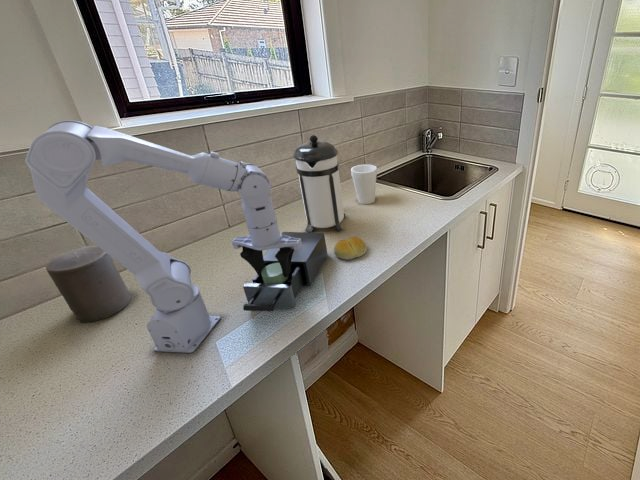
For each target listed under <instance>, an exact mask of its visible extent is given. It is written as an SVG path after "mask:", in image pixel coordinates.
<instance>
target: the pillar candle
mask: <svg viewBox="0 0 640 480" xmlns="http://www.w3.org/2000/svg"><path fill="white" fill-rule="evenodd" d="M45 270H46V272H47V273H48V275H49V277H50V279H51V280H52V282H53V284H54V285H55V286H56V288H57V290H58V291H59V293H60V294H61V296H62V298H63V299H64V301H65V302H66V304H67V305H68V308H70V311H72V313H73V315H74V317H75V318H76V320H77V322H80V323H90V322H95V321H96V322H97V321H100V320H103V319H106V318H109V317H111V316H113V315H115V314H116V313H118V312H120V311H121V310H123V309H124V308H125V307H127V305H128V304H129V303H131V300H132V295H131V294H130V292H129V290H128V287H127V285H126V284H125V282H124V279H123V277H122V276H121V274H120V272H119V270H118V268H117V266H116V263H114V260H113V257H111V256H110V255H109V254H107V253H106V252H105V251H104V250H102V249H101V248H100V247H98V246H97V245H91V246H90V245H89V246H88V245H87V246H83V247H79V248H76V249H75V248H74V249H72V250H69V251H67V252H64V253H62V254H60V255H57V256H55V257H54V258H52V259H51V260H49V261H48V262H47V264H46V265H45Z"/></svg>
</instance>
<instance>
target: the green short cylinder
mask: <svg viewBox="0 0 640 480" xmlns="http://www.w3.org/2000/svg"><path fill="white" fill-rule="evenodd" d="M261 275H262V278H263V282H264V284H282V283H284V282H285V281H286V280H287V279H288V277H284V276H283V273H282V269H281V265H280V263H273V264H270V265H267V266H266V267H264V268H263V269H262V271H261ZM288 276H289V275H288Z"/></svg>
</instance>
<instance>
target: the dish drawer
mask: <svg viewBox="0 0 640 480" xmlns="http://www.w3.org/2000/svg"><path fill="white" fill-rule="evenodd" d="M270 264H273V263H266V264H265V267H266V266H267V265H270ZM251 281H252V282H245V283H244V284H243V285H242V288H243V292H244V295H245V298H246V301H247V303H244V304H243V307H242V309H243V311H245V312H246V311H247V312H271V313H272V312H274V311H275V308H281V309H282V308H283V309H295V307H296V306H297V303H296V299H297V297H298V295H299V293H300V292H301V290H302V289H303V288H304V287H303V285H304V283H305V282H306V276H305V271H304V266H303V264H291V272H290V274H289V276H288V279H287V280H286V281H285V282H284V283H282V284H264V282H263V278H262V276H259V275H258V274H257V273H256V274H255V275H254V277H253V278H252V280H251Z"/></svg>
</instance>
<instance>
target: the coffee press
mask: <svg viewBox="0 0 640 480" xmlns="http://www.w3.org/2000/svg"><path fill="white" fill-rule="evenodd" d="M338 154H339V151H338V150H337V148H336V147H335V145H334V144H332V143H330V142H328V141H321V140H320V141H319V138H318V137H317V135H314V134H313V135H310V137H309V141H308V142H304V143H301V144H299V145H298V146H296V148H295V149H294V153H293V154H292V155H293V159H294V160H295V164H296V165H295V168H296V174H297V176H298V180H299V182H298V183H299V187H300V192H301V197H302V198H301V199H302V203H303V209H304V214H305V218H306V219H305V221H306V223H307V225H306V227H305V232H309V233H313V230H314V229H315V228H316V229H327V228H331V227H333V228H334V229H335V231H336V232H340V231H342V230H343V227H342V226H341V222H343V220H344V218H345V217H346V213H345V211H344V205H343V195H342V188H341V187H342V186H341V178H340V171H339V169H340V164H339V161H338Z"/></svg>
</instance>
